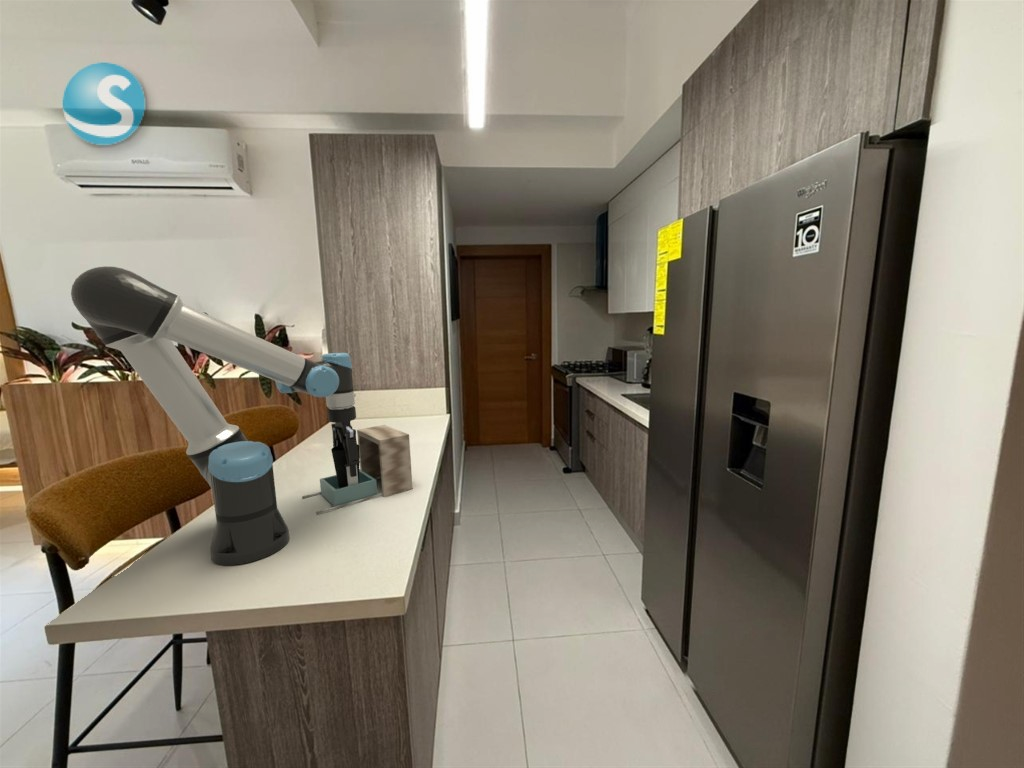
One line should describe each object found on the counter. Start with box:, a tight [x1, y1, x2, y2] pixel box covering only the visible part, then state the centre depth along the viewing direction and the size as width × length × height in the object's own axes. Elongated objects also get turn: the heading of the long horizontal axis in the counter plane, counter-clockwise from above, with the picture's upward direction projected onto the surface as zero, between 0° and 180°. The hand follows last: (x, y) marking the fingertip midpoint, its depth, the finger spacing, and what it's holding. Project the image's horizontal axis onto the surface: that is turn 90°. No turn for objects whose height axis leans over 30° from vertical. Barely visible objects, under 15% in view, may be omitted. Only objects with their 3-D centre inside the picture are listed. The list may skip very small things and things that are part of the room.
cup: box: [330, 443, 360, 489], centre depth 123 cm, size 8×8×12 cm
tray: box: [319, 468, 378, 507], centre depth 123 cm, size 12×13×5 cm
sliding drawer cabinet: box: [301, 424, 414, 515], centre depth 124 cm, size 27×18×17 cm, turn 130°
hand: (348, 482), depth 123 cm, fingers closed on cup, 8 cm apart
